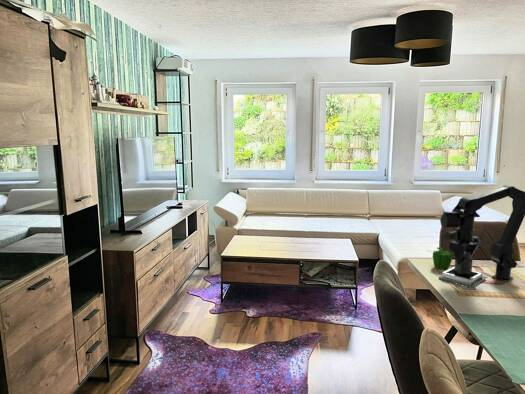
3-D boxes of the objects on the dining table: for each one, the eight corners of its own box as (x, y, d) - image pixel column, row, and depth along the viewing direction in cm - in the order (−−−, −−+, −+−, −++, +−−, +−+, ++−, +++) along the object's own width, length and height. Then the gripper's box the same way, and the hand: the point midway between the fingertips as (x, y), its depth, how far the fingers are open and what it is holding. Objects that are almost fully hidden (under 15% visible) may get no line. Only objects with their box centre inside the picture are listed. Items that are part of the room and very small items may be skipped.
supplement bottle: (473, 280, 172) (475, 253, 170) (455, 279, 173) (458, 252, 171) (468, 274, 178) (470, 248, 176) (452, 273, 180) (454, 248, 178)
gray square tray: (453, 271, 185) (453, 265, 185) (485, 280, 175) (486, 273, 174) (438, 278, 176) (439, 272, 176) (471, 288, 166) (472, 281, 165)
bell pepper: (452, 266, 192) (453, 246, 190) (449, 272, 185) (451, 251, 183) (433, 263, 196) (434, 244, 194) (430, 268, 189) (431, 248, 188)
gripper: (457, 220, 184) (454, 253, 186) (437, 227, 172) (434, 262, 174) (482, 224, 175) (479, 259, 178) (463, 232, 163) (460, 268, 166)
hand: (463, 261), depth 174 cm, fingers open, 9 cm apart
